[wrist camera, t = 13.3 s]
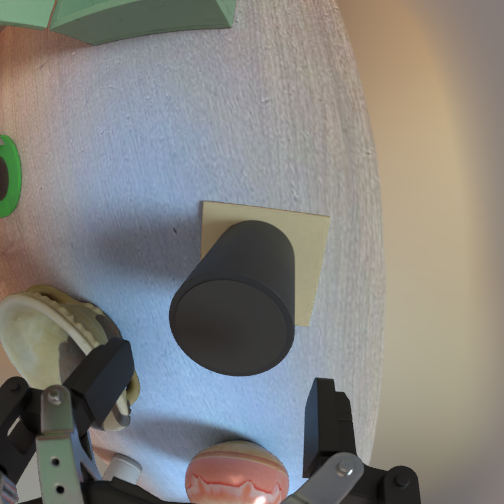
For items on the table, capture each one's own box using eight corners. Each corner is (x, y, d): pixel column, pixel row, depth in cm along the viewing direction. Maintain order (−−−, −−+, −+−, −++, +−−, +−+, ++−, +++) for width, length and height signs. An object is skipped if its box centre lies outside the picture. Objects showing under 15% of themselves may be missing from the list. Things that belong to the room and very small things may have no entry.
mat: (329, 216, 22) (330, 218, 22) (308, 324, 26) (308, 327, 25) (204, 200, 23) (203, 201, 23) (200, 308, 27) (199, 310, 26)
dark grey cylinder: (300, 226, 22) (305, 283, 13) (288, 300, 25) (283, 385, 15) (217, 215, 23) (166, 262, 14) (212, 289, 25) (171, 364, 16)
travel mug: (149, 471, 43) (117, 546, 24) (126, 467, 44) (93, 535, 26) (132, 455, 41) (94, 534, 23) (109, 451, 43) (71, 522, 24)
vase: (311, 448, 33) (306, 560, 16) (256, 477, 37) (240, 564, 21) (226, 412, 32) (190, 539, 15) (182, 446, 36) (148, 539, 20)
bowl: (29, 300, 31) (-16, 334, 22) (89, 225, 25) (20, 260, 17) (109, 395, 34) (79, 441, 25) (196, 360, 29) (165, 428, 20)
